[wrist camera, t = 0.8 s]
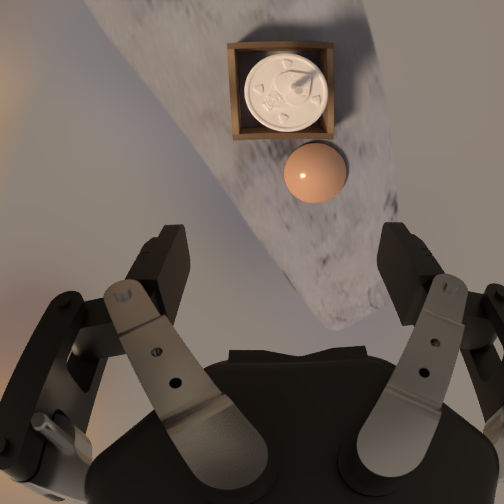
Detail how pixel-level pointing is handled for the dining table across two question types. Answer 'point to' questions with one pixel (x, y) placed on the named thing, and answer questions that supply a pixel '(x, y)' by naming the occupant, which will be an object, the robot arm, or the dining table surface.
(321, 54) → the caddy
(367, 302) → the dining table surface
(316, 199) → the coaster
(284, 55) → the smoothie
